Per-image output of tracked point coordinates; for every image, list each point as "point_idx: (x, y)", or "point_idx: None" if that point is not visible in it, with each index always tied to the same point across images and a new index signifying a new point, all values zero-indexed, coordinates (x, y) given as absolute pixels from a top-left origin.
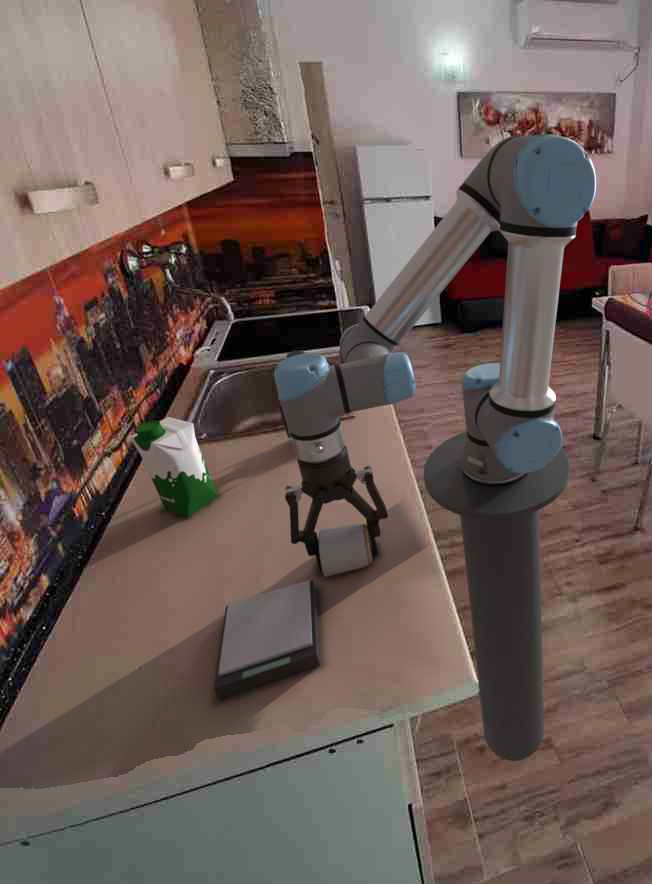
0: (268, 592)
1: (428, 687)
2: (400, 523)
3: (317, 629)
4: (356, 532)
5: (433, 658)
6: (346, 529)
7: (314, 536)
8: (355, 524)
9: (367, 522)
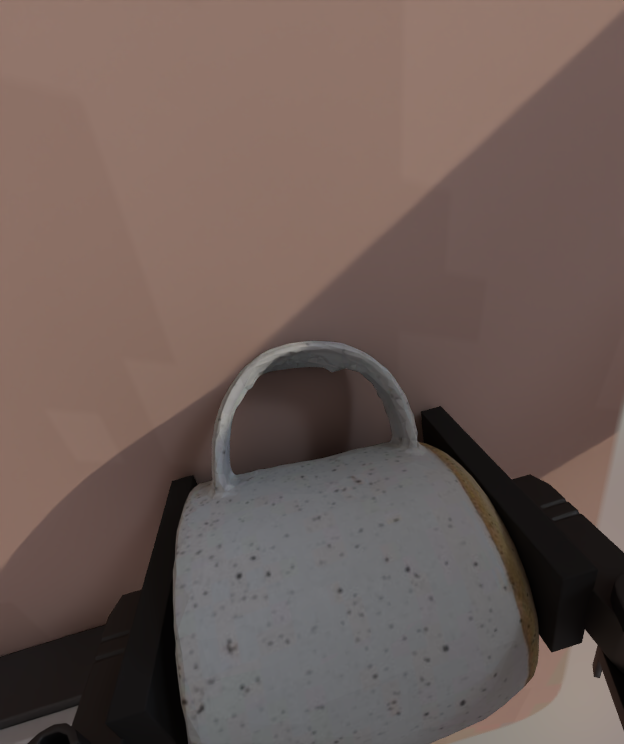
0: (20, 742)
1: (496, 724)
2: (575, 258)
3: None
4: (484, 715)
5: (518, 692)
6: (422, 723)
7: (154, 739)
8: (471, 625)
9: (562, 617)
